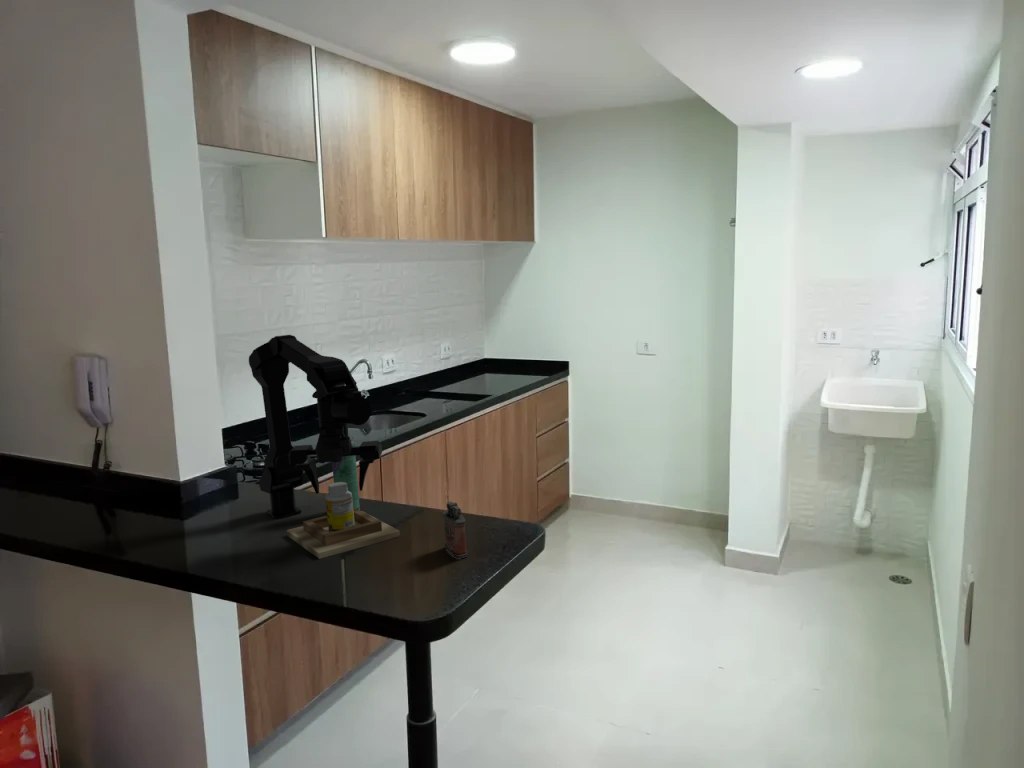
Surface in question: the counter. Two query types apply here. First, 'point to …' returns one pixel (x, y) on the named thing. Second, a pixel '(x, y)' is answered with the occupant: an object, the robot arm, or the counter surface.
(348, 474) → the spray can
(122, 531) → the counter surface
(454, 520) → the lighter
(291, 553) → the counter surface
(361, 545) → the holder board
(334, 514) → the supplement bottle
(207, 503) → the counter surface
